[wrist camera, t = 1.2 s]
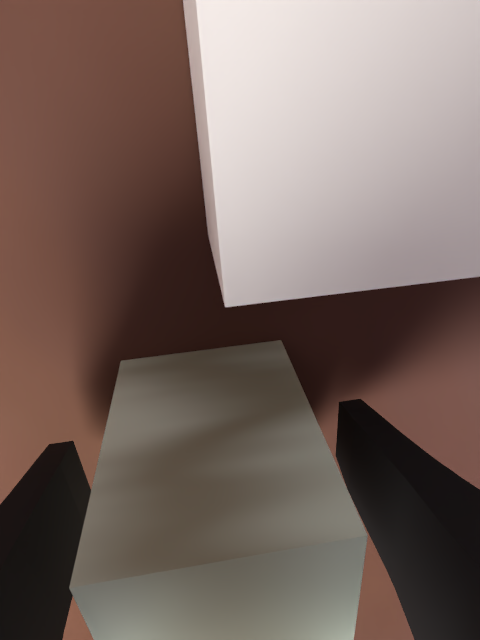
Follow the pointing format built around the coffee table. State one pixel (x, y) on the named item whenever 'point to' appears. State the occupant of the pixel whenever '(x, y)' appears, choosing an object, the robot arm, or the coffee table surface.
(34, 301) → the coffee table surface
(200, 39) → the plinth
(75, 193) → the coffee table surface
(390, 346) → the coffee table surface
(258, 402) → the sage block
